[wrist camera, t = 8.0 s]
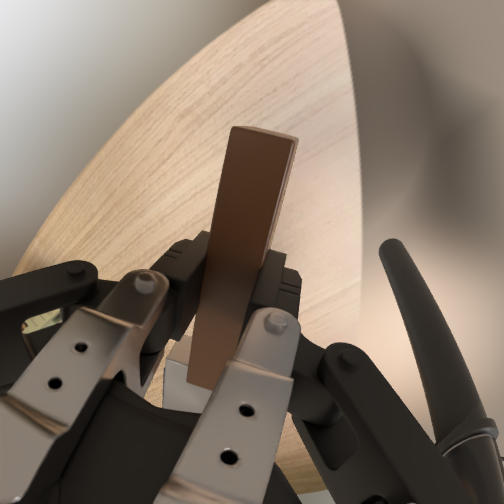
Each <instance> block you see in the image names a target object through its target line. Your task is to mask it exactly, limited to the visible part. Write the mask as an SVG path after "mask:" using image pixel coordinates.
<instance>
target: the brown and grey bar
mask: <svg viewBox="0 0 504 504" xmlns="http://www.w3.org/2000/svg"><path fill="white" fill-rule="evenodd" d="M298 142H299V139H298V138H297V137H294V136H290V135H286V134H282V133H278V132H274V131H270V130H266V129H261V128H257V127H249V126H233V127H232V128H231V131H230V136H229V140H228V145H227V150H226V154H225V159H224V164H223V168H222V173H221V178H220V183H219V188H218V193H217V198H216V203H215V208H214V213H213V218H212V224H211V229H210V234H209V240H208V245H207V251H206V253H207V257H206V263H205V268H204V274H203V280H202V285H201V291H200V297H199V303H198V309H197V312H196V316H195V322H194V329H193V335H192V337H190V336H187V335H183V336H182V338H181V340H180V342H178V341H176V342H175V344H174V346H173V347H172V349H171V351H170V352H169V354H168V356H167V357H166V365H165V381H164V400H163V408H165V409H171V410H178V411H185V412H193V413H202V412H203V410H204V408H205V406H206V404H207V402H208V400H209V398H210V395H211V393H212V391H213V389H214V387H215V385H216V383H217V381H218V379H219V377H220V375H221V373H222V371H223V369H224V367H225V364H226V362H227V361H228V359H229V358H233V355H234V353H235V351H236V348H237V344H238V340H239V337H240V333H241V329H242V325H243V322H244V318H245V314H246V310H247V307H248V303H249V300H250V297H251V294H252V291H253V289H254V286H255V283H256V280H257V277H258V275H259V272H260V269H262V268H263V265H264V262H265V259H266V256H267V253H268V250H269V249H270V247H271V243H272V240H273V236H274V232H275V229H276V225H277V221H278V218H279V214H280V210H281V206H282V203H283V199H284V195H285V191H286V188H287V184H288V180H289V176H290V172H291V168H292V165H293V161H294V157H295V153H296V149H297V145H298Z"/></svg>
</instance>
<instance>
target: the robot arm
mask: <svg viewBox="0 0 504 504" xmlns="http://www.w3.org/2000/svg"><path fill="white" fill-rule="evenodd" d="M209 234H210V232H207V231H203V230H202V231H201V232H200V233H199V234H198V236H197V237H196V238H195V239H194V240H193V241H192V240H188V239H184V240H181V241H178V242H176V243H174V244H173V245H172V246H171V247H170V248H169V250H167V251H166V252H165V253H164V255H162V256H161V257H160V258H159V259H158V260H157V261H156V262H155V263H154V264H153V265H152V267H151V268H150V269H149V270H148V269H139V270H134V271H131V272H129V273H127V274H126V275H125V276H124V277H123V278H122V279H121V280H120V281H119V282H117V281H109V280H101V279H98V270H97V268H96V266H95V265H93V264H92V263H90V262H87V261H82V260H74V261H68V262H64V263H61V264H57V265H53V266H50V267H46V268H42V269H39V270H35V271H32V272H28V273H24V274H21V275H17V276H14V277H10V278H7V279H4V280H0V504H302V503H301V501H300V500H299V498H298V496H297V495H296V493H295V492H294V490H293V488H292V487H291V485H290V484H289V482H288V480H287V479H286V477H285V475H284V474H283V472H282V471H281V469H280V468H279V467H278V465H277V464H276V463H275V462H274V460H275V457H276V453H277V449H278V445H279V441H280V438H281V434H282V430H283V426H284V422H285V417H286V413H287V412H289V413H291V414H292V420H293V423H294V425H295V427H296V429H297V431H298V433H299V435H300V437H301V439H302V441H303V443H304V445H305V447H306V449H307V451H308V452H309V454H310V456H311V458H312V460H313V462H314V464H315V466H316V468H317V470H318V472H319V473H320V475H321V477H322V479H323V481H324V483H325V485H326V487H327V489H328V490H329V492H330V494H331V496H332V498H333V500H334V501H335V503H336V504H504V467H503V464H502V461H504V457H501V456H500V453H499V450H498V446H497V443H496V440H495V438H492V435H491V434H490V433H478V434H474V435H471V436H469V437H466V438H464V439H462V440H460V441H458V442H456V443H455V444H453V445H452V446H450V447H449V448H448V449H447V450H445V451H444V453H443V454H441V453H440V451H439V450H438V449H437V447H436V446H435V445H434V443H433V442H432V440H431V439H430V438H429V436H428V435H427V434H426V432H425V431H424V430H423V428H422V427H421V425H420V424H419V423H418V421H417V420H416V419H415V417H414V416H413V415H412V413H411V412H410V411H409V409H408V408H407V407H406V405H405V404H404V403H403V401H402V400H401V399H400V397H399V396H398V395H397V393H396V392H395V391H394V389H393V388H392V387H391V385H390V384H389V383H388V381H387V380H386V379H385V377H384V376H383V375H382V374H381V372H380V371H379V370H378V368H377V367H376V366H375V364H374V363H373V362H372V360H371V359H370V358H369V356H368V355H367V354H366V353H365V352H364V351H362V350H361V349H360V348H358V347H356V346H354V345H352V344H348V343H342V342H339V343H333V344H331V345H329V346H328V347H327V348H326V350H325V349H323V348H321V347H319V346H317V345H316V344H314V343H312V342H310V341H309V340H308V339H307V338H305V337H304V336H303V334H302V333H301V326H300V323H299V322H298V312H299V303H300V294H301V284H302V279H301V277H300V275H299V273H298V271H296V270H293V269H289V268H286V267H284V265H285V260H286V255H287V254H285V253H281V252H278V251H274V250H271V249H269V250H268V253H267V256H266V259H265V262H264V265H263V268H262V269H260V272H259V275H258V277H257V280H256V283H255V286H254V289H253V291H252V294H251V297H250V300H249V303H248V307H247V310H246V314H245V318H244V322H243V325H242V329H241V333H240V337H239V340H238V344H237V348H236V351H235V353H234V355H233V358H229V359H228V361H227V362H226V364H225V367H224V369H223V371H222V373H221V375H220V377H219V379H218V381H217V383H216V385H215V387H214V389H213V391H212V393H211V395H210V398H209V400H208V402H207V404H206V406H205V408H204V410H203V412H202V413H193V412H185V411H178V410H171V409H165V408H159V407H156V406H154V405H152V404H150V403H149V402H148V401H146V400H145V399H144V396H145V393H146V391H147V389H148V387H149V385H150V383H151V381H152V379H153V376H154V374H155V372H156V370H157V368H158V366H159V364H160V362H161V360H162V358H163V355H164V351H165V345H166V344H167V342H168V340H169V339H173V340H175V341H178V342H180V340H181V338H182V336H183V335H184V333H185V331H186V329H187V328H188V326H189V324H190V322H191V321H192V319H193V317H194V315H195V314H196V312H197V309H198V303H199V297H200V291H201V285H202V280H203V274H204V268H205V263H206V257H207V253H206V251H207V245H208V240H209ZM56 309H60V314H61V320H62V322H60V323H57V324H54V325H51V326H48V327H45V328H42V329H40V330H37V331H34V332H31V333H27V334H26V333H22V332H21V327H22V324H23V323H24V322H25V321H26V320H27V319H29V318H32V317H35V316H38V315H41V314H44V313H47V312H50V311H53V310H56Z"/></svg>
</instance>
